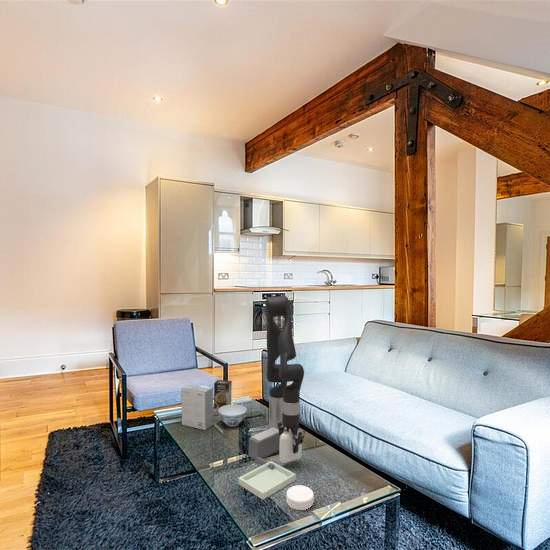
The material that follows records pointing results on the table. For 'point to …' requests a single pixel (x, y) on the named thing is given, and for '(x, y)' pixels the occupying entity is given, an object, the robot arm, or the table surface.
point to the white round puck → (300, 497)
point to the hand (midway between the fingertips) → (290, 450)
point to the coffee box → (222, 393)
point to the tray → (266, 480)
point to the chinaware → (232, 414)
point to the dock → (264, 445)
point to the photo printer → (288, 448)
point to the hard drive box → (197, 406)
